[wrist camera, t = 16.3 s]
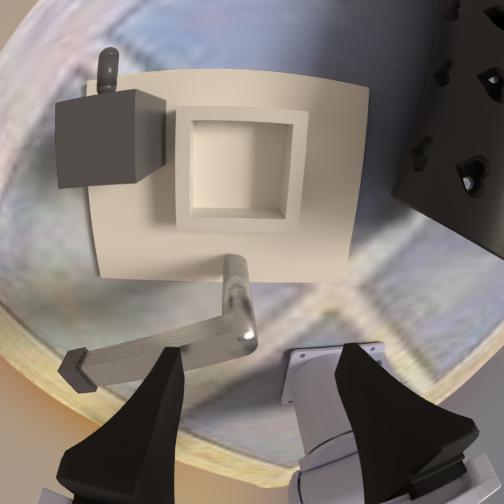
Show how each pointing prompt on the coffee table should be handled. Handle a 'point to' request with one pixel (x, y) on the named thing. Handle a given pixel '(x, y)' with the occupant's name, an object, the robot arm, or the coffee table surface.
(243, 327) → the clip
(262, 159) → the socket base
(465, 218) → the muzzle brake
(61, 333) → the coffee table surface
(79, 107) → the plug
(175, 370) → the robot arm
